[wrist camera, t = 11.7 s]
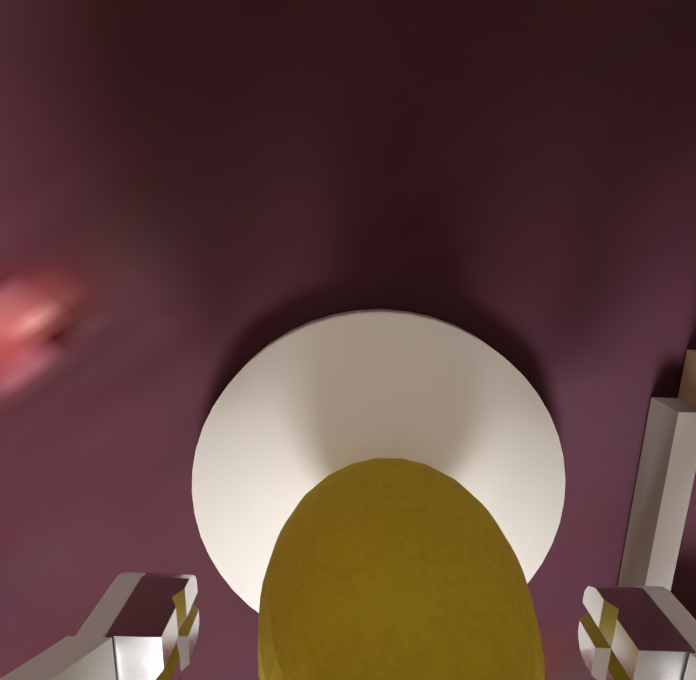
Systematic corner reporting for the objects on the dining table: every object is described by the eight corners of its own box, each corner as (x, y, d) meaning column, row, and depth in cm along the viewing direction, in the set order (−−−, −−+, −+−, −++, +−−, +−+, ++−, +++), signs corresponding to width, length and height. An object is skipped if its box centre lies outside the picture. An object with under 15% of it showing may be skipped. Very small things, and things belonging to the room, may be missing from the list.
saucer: (572, 313, 13) (589, 319, 12) (530, 630, 16) (542, 656, 15) (193, 304, 13) (181, 309, 12) (210, 621, 16) (201, 647, 15)
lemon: (379, 371, 13) (422, 588, 5) (513, 495, 14) (731, 848, 6) (248, 500, 14) (114, 853, 6) (381, 609, 15) (417, 1045, 7)
